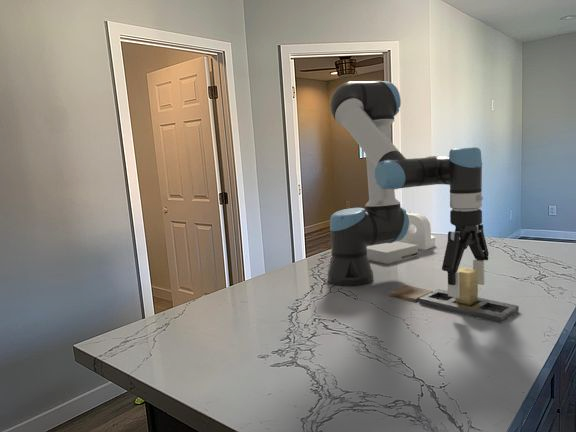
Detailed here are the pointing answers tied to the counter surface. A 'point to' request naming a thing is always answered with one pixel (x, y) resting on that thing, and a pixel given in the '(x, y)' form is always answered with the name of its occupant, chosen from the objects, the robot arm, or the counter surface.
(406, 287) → the walnut pad
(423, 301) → the grey flat slotted block
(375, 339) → the counter surface
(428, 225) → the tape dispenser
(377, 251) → the disc drive
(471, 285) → the square wooden peg
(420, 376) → the counter surface
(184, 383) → the counter surface
